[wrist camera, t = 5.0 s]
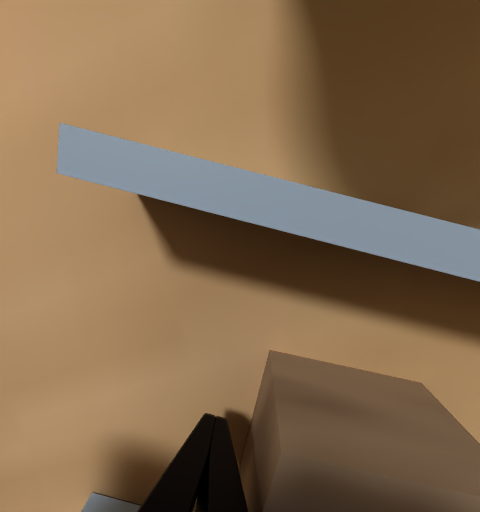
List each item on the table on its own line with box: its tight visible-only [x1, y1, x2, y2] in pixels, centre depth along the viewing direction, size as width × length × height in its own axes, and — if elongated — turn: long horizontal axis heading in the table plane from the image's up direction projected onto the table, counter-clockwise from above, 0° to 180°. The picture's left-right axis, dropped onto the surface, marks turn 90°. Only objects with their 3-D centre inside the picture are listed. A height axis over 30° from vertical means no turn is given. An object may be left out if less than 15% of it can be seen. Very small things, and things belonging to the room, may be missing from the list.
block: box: [240, 350, 480, 512], centre depth 8 cm, size 6×6×4 cm
